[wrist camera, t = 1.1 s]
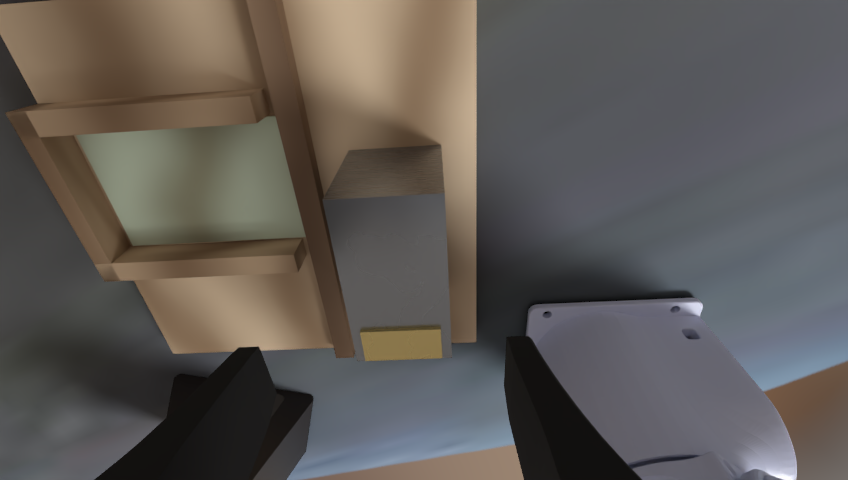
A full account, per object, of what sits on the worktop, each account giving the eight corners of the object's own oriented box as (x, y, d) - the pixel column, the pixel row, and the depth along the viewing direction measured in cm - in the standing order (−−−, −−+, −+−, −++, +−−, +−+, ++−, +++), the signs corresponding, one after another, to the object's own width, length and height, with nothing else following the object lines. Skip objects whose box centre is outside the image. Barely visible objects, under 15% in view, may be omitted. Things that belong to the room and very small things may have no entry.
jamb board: (473, -33, 15) (481, -38, 13) (474, 330, 24) (479, 362, 22) (8, 5, 16) (-58, 6, 14) (182, 341, 25) (158, 374, 23)
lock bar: (348, 150, 17) (321, 201, 13) (441, 144, 17) (445, 195, 13) (371, 287, 21) (356, 363, 17) (447, 284, 21) (451, 360, 17)
